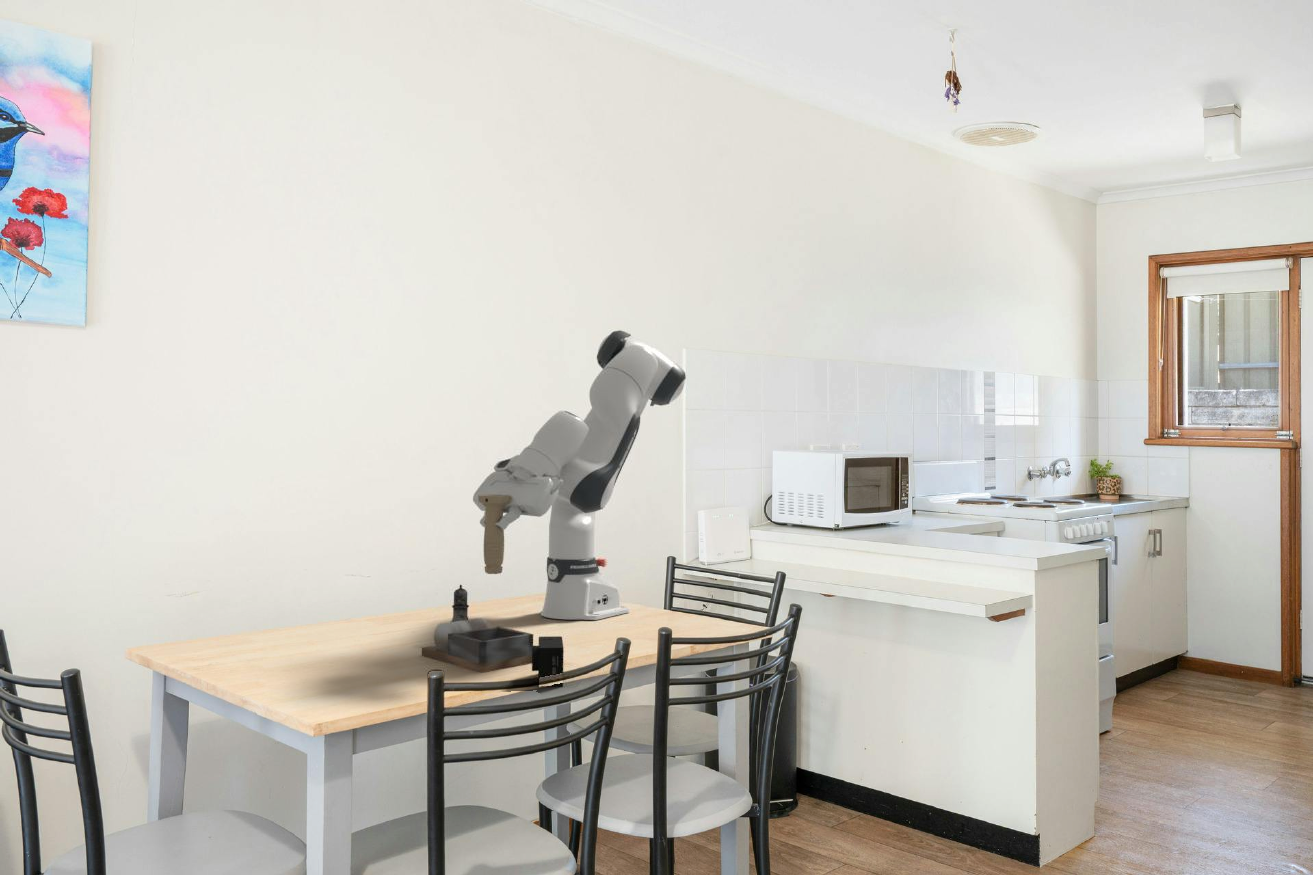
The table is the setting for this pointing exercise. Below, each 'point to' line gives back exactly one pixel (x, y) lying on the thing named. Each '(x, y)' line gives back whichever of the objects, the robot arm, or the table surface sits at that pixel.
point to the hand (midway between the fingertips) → (491, 526)
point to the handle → (493, 532)
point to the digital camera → (548, 657)
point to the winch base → (480, 645)
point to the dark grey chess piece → (460, 605)
